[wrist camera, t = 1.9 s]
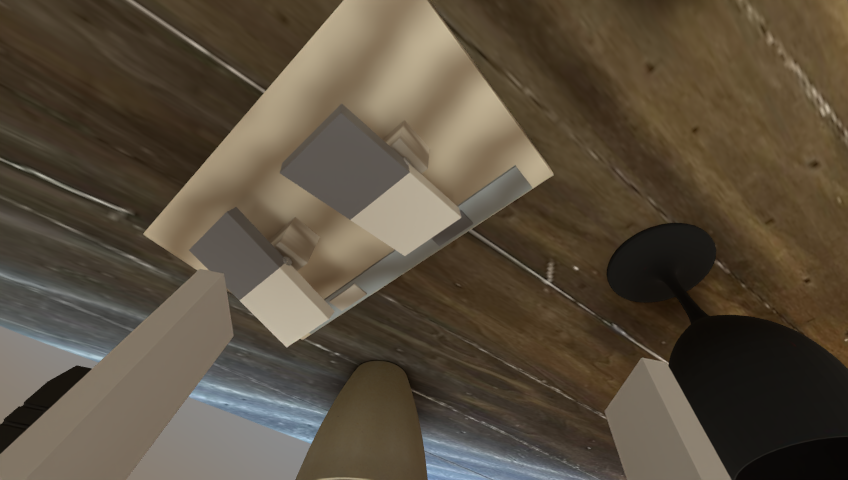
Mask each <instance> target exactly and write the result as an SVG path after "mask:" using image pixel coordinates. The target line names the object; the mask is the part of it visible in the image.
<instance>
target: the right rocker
mask: <svg viewBox="0 0 848 480" xmlns="http://www.w3.org/2000/svg"><path fill="white" fill-rule="evenodd" d="M280 174H282V175H283V176H285V177H286V178H288V179H289V180H291V181H292V182H294V183H295V184H297V185H298V186H300V187H301V188H303V189H304V190H306V191H307V192H309V193H310V194H312V195H313V196H315V197H316V198H318V199H319V200H321V201H322V202H324V203H325V204H327V205H328V206H330V207H331V208H333V209H334V210H336V211H337V212H339V213H340V214H342V215H343V216H345V217H346V218H348V219H349V220H351V221H352V222H354V223H355V224H357V225H358V226H360V227H362V228H363V229H365V230H366V231H368V232H369V233H371V234H372V235H374V236H375V237H377V238H378V239H380V240H381V241H383V242H384V243H386V244H387V245H389V246H390V247H392V248H393V249H395V250H396V251H398V252H399V253H401V254H402V255H404V256H406V255H407V254H409V253H410V252H412V251H413V250H415V249H416V248H418V247H419V246H421V245H422V244H423V243H425V242H426V241H428V240H429V239H431V238H432V237H434V236H435V235H437V234H438V233H440V232H441V231H443V230H444V229H445V228H447V227H448V226H450V225H451V224H453V223H454V222H456V221H457V220H459V219H460V218H461V214H460V210H459V207H458V206H456V205H455V204H454V203H453V202H452V201H451V200H450V199H449V198H447V197H446V196H445V195H444V194H443V193H442V192H441V191H440V190H439V189H437V188H436V187H435V186H434V185H433V184H432V183H431V182H430V181H428V180H427V179H426V178H425V177H424V176H423V175H422V174H421V173H419V172H418V171H417V170H416V169H415V168H414V167H413V166H412V164H411V162H410V161H409V160H408V159H407V158H406V157H404V158H403V157H401V156H400V155H399V154H398V153H397V152H396V151H395V150H394V149H392V148H391V147H390V146H389V145H388V144H387V143H386V142H385V141H384V140H382V139H381V138H380V137H379V136H378V135H377V134H376V133H375V132H373V131H372V130H371V129H370V128H369V127H368V126H367V125H366V124H364V123H363V122H362V121H361V120H360V119H359V118H358V117H357V116H355V115H354V114H353V113H352V112H351V111H350V110H349V109H348V108H346V107H345V106H344V105H343V104H341V105H340V106H339V107H338V108H337V109H336V110H335V111H334V112H333V113H332V114H331V115H330V116H329V117H328V118H327V119H326V120H325V121H324V122H323V123H322V124H321V125H320V126H319V127H318V128H317V129H316V130H315V131H314V132H313V133H312V134H311V135H310V136H309V137H308V138H307V139H306V140H305V141H304V142H303V143H302V144H301V145H300V146H299V147H298V148H297V149H296V150H295V151H294V152H293V153H292V154H291V155H290V156H289V157H288V158H287V159H286V160H285V161H284V162H283V163H282V166H281V170H280Z"/></svg>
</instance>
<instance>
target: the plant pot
mask: <svg viewBox="0 0 848 480" xmlns="http://www.w3.org/2000/svg"><path fill="white" fill-rule="evenodd" d="M296 480H428V479H427V469H426V461H425V453H424V446H423V440H422V434H421V429H420V424H419V419H418V414H417V410H416V406H415V402H414V398H413V394H412V391H411V388H410V384H409V381H408V378H407V375H406V373H405V372H404V371H403V370H402V369H401V368H400V367H399V366H397V365H395V364H393V363H390V362H385V361H369V362H366V363H363V364H361V365H360V366H359V367H358V368H357V369H356V370H355V371H354V373H353V374H352V375H351V377H350V378H349V380H348V381H347V383H346V384H345V385H344V387H343V389H342V390H341V392H340V393H339V395H338V396H337V398H336V400H335V401H334V403H333V405H332V406H331V408H330V410H329V411H328V413H327V415H326V417H325V419H324V420H323V422H322V424H321V426H320V428H319V430H318V432H317V434H316V436H315V438H314V440H313V442H312V444H311V446H310V448H309V451H308V452H307V455H306V457H305V459H304V462H303V464H302V466H301V468H300V471H299V473H298V475H297V477H296Z"/></svg>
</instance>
